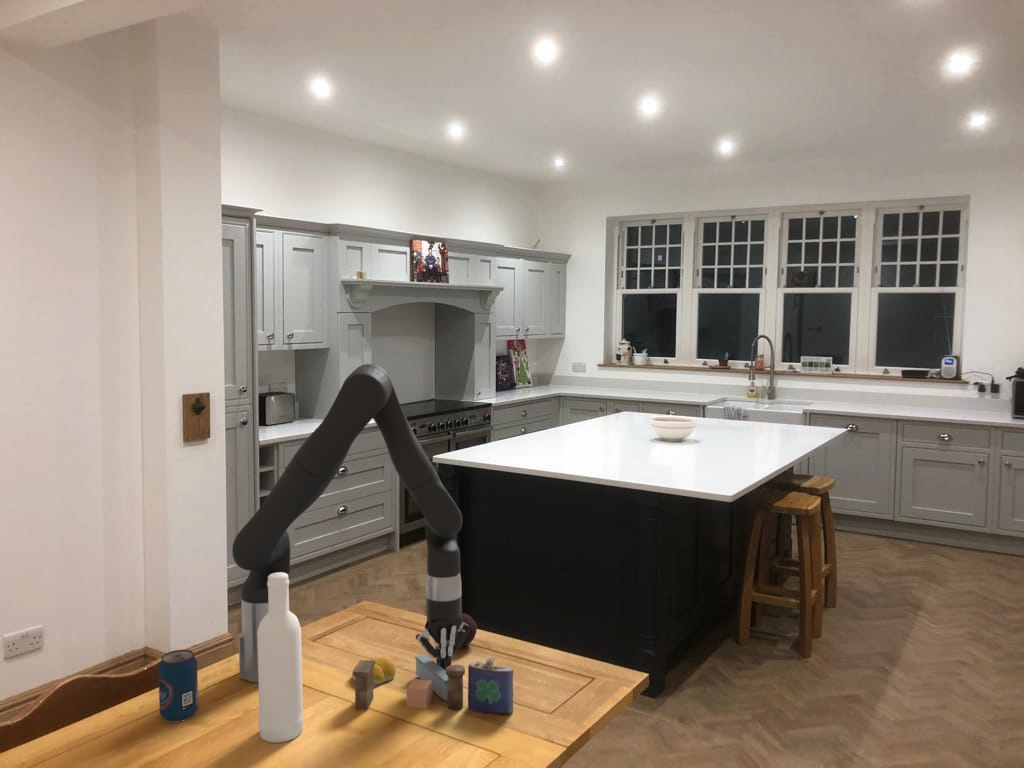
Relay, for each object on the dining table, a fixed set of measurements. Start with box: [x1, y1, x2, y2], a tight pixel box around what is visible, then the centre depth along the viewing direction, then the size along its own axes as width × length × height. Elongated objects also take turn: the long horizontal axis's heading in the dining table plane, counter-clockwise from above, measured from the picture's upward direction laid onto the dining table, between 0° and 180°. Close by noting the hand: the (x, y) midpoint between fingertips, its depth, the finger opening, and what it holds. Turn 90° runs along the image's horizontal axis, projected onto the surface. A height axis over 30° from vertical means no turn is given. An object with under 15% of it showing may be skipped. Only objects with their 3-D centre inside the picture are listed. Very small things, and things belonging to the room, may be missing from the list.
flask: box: [467, 656, 514, 716], centre depth 158 cm, size 9×3×11 cm, turn 74°
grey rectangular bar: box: [414, 653, 448, 702], centre depth 168 cm, size 14×2×4 cm, turn 31°
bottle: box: [257, 572, 304, 744], centre depth 149 cm, size 8×8×30 cm
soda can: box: [158, 649, 199, 723], centre depth 156 cm, size 7×7×12 cm
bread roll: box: [351, 657, 397, 686], centre depth 174 cm, size 8×9×4 cm
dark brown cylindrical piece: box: [446, 664, 466, 712], centre depth 160 cm, size 4×4×8 cm
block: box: [406, 678, 433, 709], centre depth 162 cm, size 4×4×4 cm
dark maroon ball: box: [461, 612, 478, 648], centre depth 190 cm, size 8×9×8 cm
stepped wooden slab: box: [352, 659, 375, 711], centre depth 161 cm, size 3×6×8 cm, turn 176°
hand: (444, 672), depth 173 cm, fingers closed
